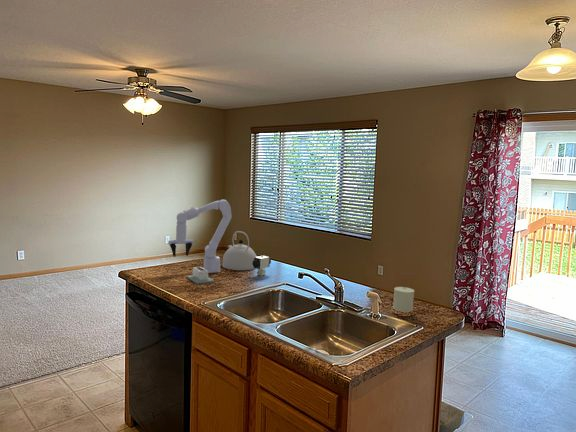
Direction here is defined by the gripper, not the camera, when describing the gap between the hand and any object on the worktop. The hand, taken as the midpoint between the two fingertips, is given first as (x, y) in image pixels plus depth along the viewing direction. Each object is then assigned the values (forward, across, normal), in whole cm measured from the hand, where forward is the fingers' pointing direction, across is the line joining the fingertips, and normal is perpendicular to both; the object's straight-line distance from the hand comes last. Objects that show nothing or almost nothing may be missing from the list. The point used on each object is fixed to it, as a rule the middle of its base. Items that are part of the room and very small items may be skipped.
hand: (180, 255), depth 254 cm
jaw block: (+8, +4, -21) cm, 23 cm away
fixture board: (+9, +4, -21) cm, 23 cm away
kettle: (+10, +40, +2) cm, 41 cm away
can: (+10, +68, -110) cm, 129 cm away
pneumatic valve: (+10, +41, -24) cm, 48 cm away
